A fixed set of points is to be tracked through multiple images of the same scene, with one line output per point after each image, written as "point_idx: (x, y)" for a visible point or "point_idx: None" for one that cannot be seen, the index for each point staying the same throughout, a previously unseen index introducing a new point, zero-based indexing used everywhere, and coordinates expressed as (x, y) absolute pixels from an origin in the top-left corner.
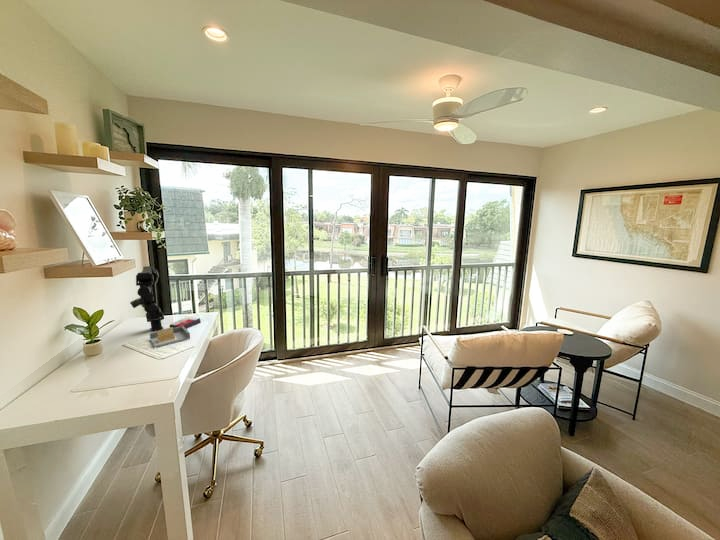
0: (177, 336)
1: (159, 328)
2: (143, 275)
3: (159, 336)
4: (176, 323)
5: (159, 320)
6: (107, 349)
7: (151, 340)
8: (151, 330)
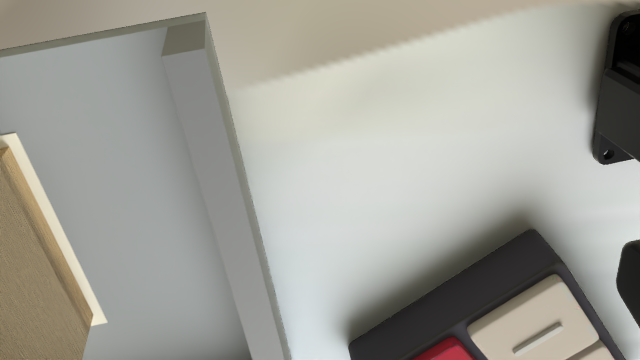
0: None
1: (599, 128)
2: None
3: None
4: (517, 344)
5: None
6: None
7: (52, 49)
8: (636, 14)
